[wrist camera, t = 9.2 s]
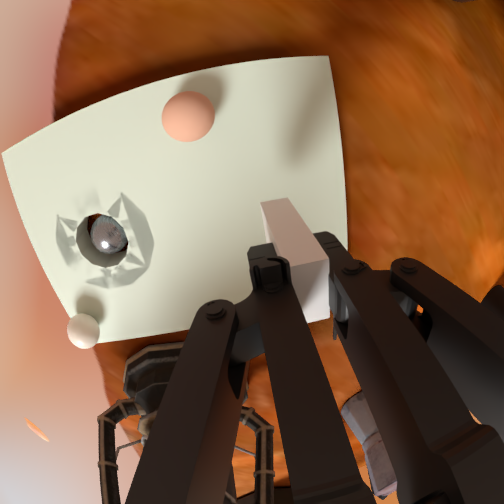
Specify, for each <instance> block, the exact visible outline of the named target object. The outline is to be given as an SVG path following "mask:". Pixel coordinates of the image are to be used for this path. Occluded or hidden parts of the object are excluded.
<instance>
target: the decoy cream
mask: <svg viewBox="0 0 504 504" xmlns="http://www.w3.org/2000/svg"><path fill="white" fill-rule="evenodd" d="M67 333H68V337H69V339H70V340H71V342H72V343H73V344H74V345H75V346H77V347H79V348H83V349H87V348H91V347H93V346H94V345H95V344H96V343H97V342H98V340H99V337H100V328H99V325H98V323H97V321H96V320H95V319H94V318H93V317H92V316H90V315H88V314H83V313H81V314H77V315H75V316H73V317H72V318H71V319H70V321H69V323H68V326H67Z"/></svg>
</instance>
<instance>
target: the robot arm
mask: <svg viewBox="0 0 504 504" xmlns="http://www.w3.org/2000/svg"><path fill="white" fill-rule="evenodd" d="M454 1H457V2H469V1H474V0H454ZM260 206H261V212H262V218H263V224H264V230H265V236H266V242H267V243H266V244H261V245H256V246H251V247H250V248H249V250H248V252H247V257H248V262H249V272H250V277H251V282H252V287H253V290H252V292H251V294H250V295H249V296H248V297H247V298H246V299H244V300H243V301H241V302H239V303H236V304H233V303H232V302H230V301H228V300H224V299H217V300H212V301H209V302H207V303H205V304H204V305H202V306H201V307H200V308H199V309H198V311H197V312H196V315H195V317H194V319H193V322H192V324H191V327H190V329H189V332H188V334H187V337H186V339H185V342H184V344H183V347H182V349H181V352H180V354H179V357H178V359H177V362H176V364H175V367H174V369H173V372H172V375H171V377H170V380H169V382H168V385H167V388H166V390H165V393H164V395H163V398H162V401H161V403H160V406H159V409H158V411H157V414H156V417H155V419H154V422H153V425H152V427H151V430H150V433H149V436H148V438H147V441H146V444H145V447H144V449H143V452H142V455H141V458H140V461H139V464H138V466H137V469H136V472H135V475H134V478H133V481H132V484H131V487H130V490H129V493H128V496H127V499H126V502H125V504H223V502H224V497H225V492H226V487H227V482H228V477H229V472H230V467H231V462H232V457H233V452H234V447H235V441H236V436H237V431H238V426H239V420H240V415H241V410H242V404H243V399H244V393H245V388H246V382H247V377H248V371H249V366H250V359H252V358H254V357H257V356H259V355H261V354H263V353H265V355H266V361H267V366H268V371H269V376H270V382H271V387H272V392H273V397H274V402H275V408H276V413H277V418H278V423H279V428H280V433H281V438H282V444H283V449H284V454H285V459H286V464H287V469H288V474H289V479H290V484H291V489H292V494H293V500H294V504H377V503H376V501H375V498H374V495H373V493H372V491H371V490H370V488H369V487H368V486H367V485H366V484H365V483H364V481H363V480H362V478H361V475H360V472H359V469H358V466H357V463H356V460H355V457H354V454H353V451H352V448H351V445H350V442H349V439H348V436H347V433H346V430H345V427H344V424H343V421H342V418H341V415H340V413H339V410H338V407H337V404H336V401H335V398H334V395H333V393H332V390H331V387H330V384H329V381H328V378H327V376H326V373H325V370H324V367H323V365H322V362H321V359H320V356H319V354H318V351H317V348H316V345H315V343H314V340H313V337H312V335H311V332H310V329H309V327H308V324H307V323H310V322H314V321H318V320H322V319H327V318H330V309H331V311H332V313H333V315H334V318H333V339H334V340H336V337H337V334H338V336H339V339H340V341H341V343H342V345H343V347H344V350H345V352H346V354H347V356H348V359H349V361H350V363H351V366H352V368H353V370H354V372H355V375H356V377H357V379H358V382H359V384H360V386H361V389H362V391H363V394H364V396H365V398H366V401H367V403H368V406H369V408H370V410H371V413H372V415H373V418H374V420H375V423H376V425H377V428H378V430H379V433H380V435H381V438H382V440H383V443H384V446H385V448H386V451H387V453H388V456H389V459H390V461H391V464H392V467H393V469H394V472H395V475H396V478H397V489H396V491H397V497H398V501H399V504H504V321H503V320H502V319H500V318H499V317H498V316H496V315H495V314H494V313H493V312H491V311H490V310H489V309H487V308H486V307H485V306H483V305H482V304H481V303H479V302H478V301H477V300H475V299H474V298H472V297H471V296H470V295H468V294H467V293H465V292H464V291H463V290H461V289H460V288H458V287H457V286H456V285H454V284H453V283H451V282H450V281H448V280H447V279H445V278H444V277H442V276H441V275H439V274H438V273H436V272H435V271H433V270H432V269H430V268H429V267H427V266H426V265H424V264H423V263H421V262H420V261H418V260H415V259H412V258H407V257H404V258H399V259H396V260H394V261H393V262H392V264H391V269H390V270H372V269H371V268H370V267H369V265H367V264H366V263H365V262H363V261H360V260H355V259H353V258H352V256H351V255H350V254H349V252H348V251H347V250H346V249H345V247H344V246H343V245H342V244H341V242H339V240H338V239H337V237H336V236H335V235H334V234H332V233H330V232H328V231H323V232H318V233H313V234H312V232H311V231H310V229H309V228H308V226H307V225H306V223H305V222H304V220H303V219H302V217H301V216H300V215H299V213H298V212H297V210H296V209H295V207H294V206H293V205H292V203H291V202H290V200H289V199H288V197H287V198H281V199H276V200H270V201H265V202H260ZM418 305H420V306H421V307H422V308H423V313H420V312H418V311H417V306H418ZM469 411H470V412H471V413H472V414H473V415H474V416H475V417H476V418H477V419H478V420H479V421H480V422H481V424H478V423H477V422H475V420H474V419H473V418H472V416H471V414H470V412H469Z"/></svg>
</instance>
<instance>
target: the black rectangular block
mask: <svg viewBox="0 0 504 504" xmlns="http://www.w3.org/2000/svg"><path fill="white" fill-rule="evenodd" d="M237 504H254V493H253V494H250V495H248V496H246V497H243V498H241V499H238V500H237ZM274 504H294V500H293V494H292V489H291V488H278V489H274Z"/></svg>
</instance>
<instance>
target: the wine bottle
mask: <svg viewBox="0 0 504 504" xmlns="http://www.w3.org/2000/svg"><path fill="white" fill-rule="evenodd" d="M481 304H482V305H483V306H485V307H486V308H487V309H489V310H490V311H491V312H493V313H494V314H495V315H496V316H498V317H499V318H500V319H502V320H503V321H504V288H503V287H502V286H501V285H497V286H495V287H494V288H493V289H491V290H490V291H489V293H488V294H487V295H486V296H485V298H484V299H483V300H482V302H481Z"/></svg>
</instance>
